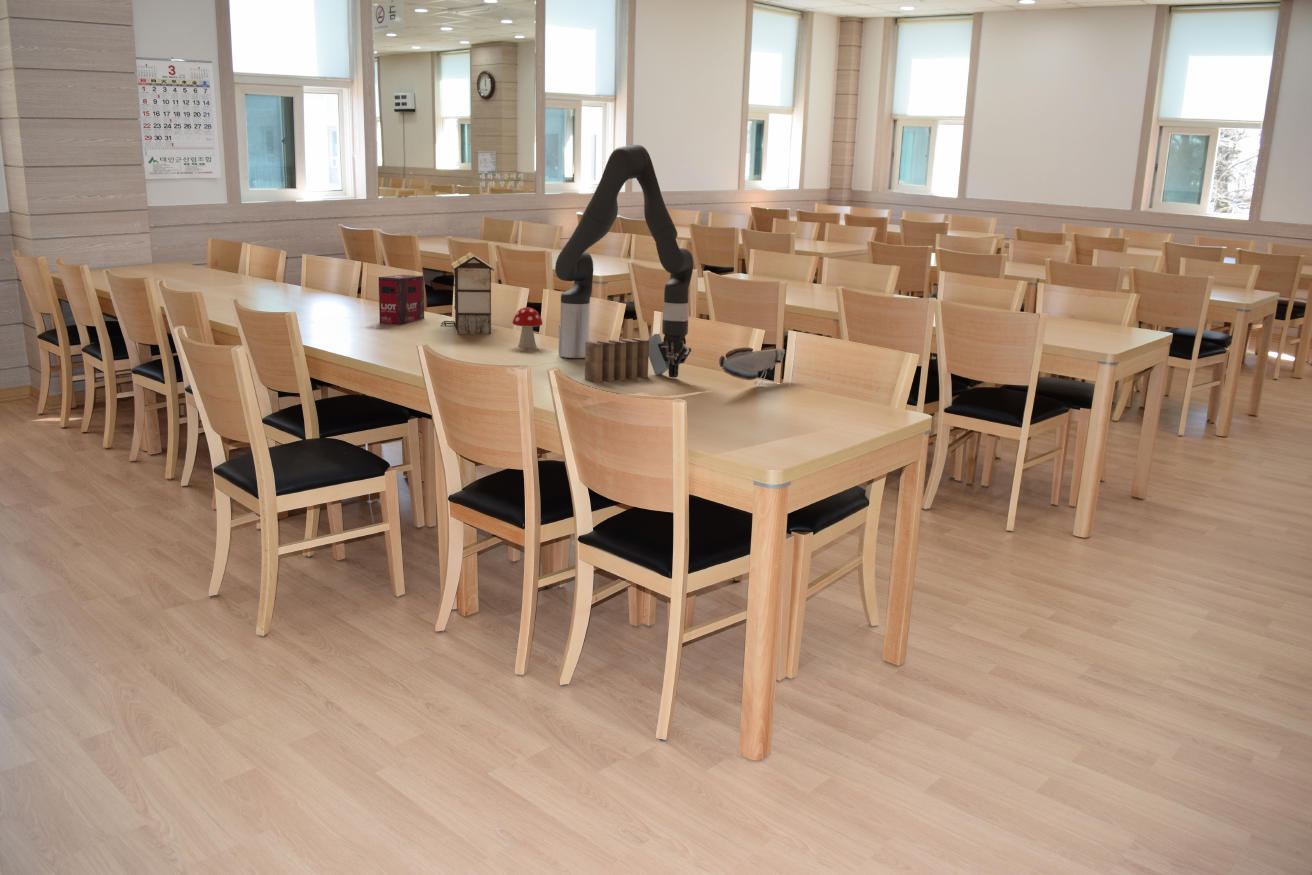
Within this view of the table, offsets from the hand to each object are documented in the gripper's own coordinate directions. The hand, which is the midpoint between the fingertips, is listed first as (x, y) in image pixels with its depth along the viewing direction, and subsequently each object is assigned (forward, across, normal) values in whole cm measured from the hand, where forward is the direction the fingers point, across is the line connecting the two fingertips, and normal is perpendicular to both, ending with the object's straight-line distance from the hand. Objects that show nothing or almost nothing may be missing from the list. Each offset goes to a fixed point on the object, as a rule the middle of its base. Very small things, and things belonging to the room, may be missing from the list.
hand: (673, 377), depth 296 cm
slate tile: (-1, -5, 0) cm, 5 cm away
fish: (+1, +20, +13) cm, 23 cm away
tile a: (+1, -9, -5) cm, 11 cm away
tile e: (+1, -9, -22) cm, 24 cm away
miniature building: (+1, -105, -11) cm, 106 cm away
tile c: (+1, -9, -14) cm, 17 cm away
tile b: (+1, -9, -10) cm, 13 cm away
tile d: (+1, -9, -18) cm, 20 cm away
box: (0, -132, -23) cm, 134 cm away
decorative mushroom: (+1, -64, -10) cm, 65 cm away
